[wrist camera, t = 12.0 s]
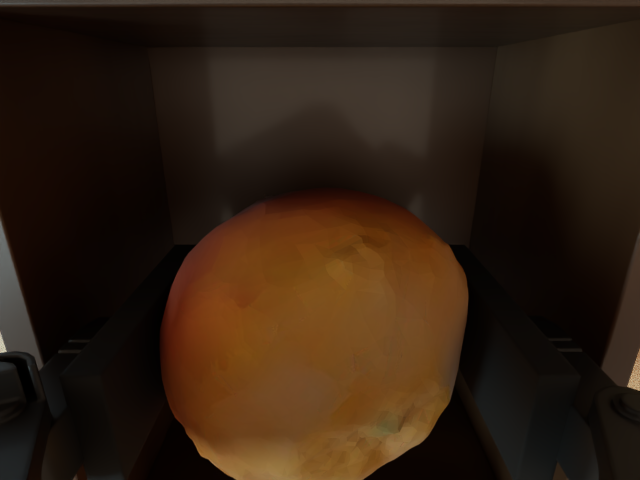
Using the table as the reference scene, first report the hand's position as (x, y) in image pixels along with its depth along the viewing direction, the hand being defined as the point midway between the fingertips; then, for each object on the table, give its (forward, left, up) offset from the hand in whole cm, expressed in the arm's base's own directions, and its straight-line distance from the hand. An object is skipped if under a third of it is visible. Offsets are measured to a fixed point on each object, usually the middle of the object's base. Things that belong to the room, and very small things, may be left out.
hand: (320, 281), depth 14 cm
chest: (0, 0, -5) cm, 5 cm away
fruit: (0, 0, -1) cm, 1 cm away
